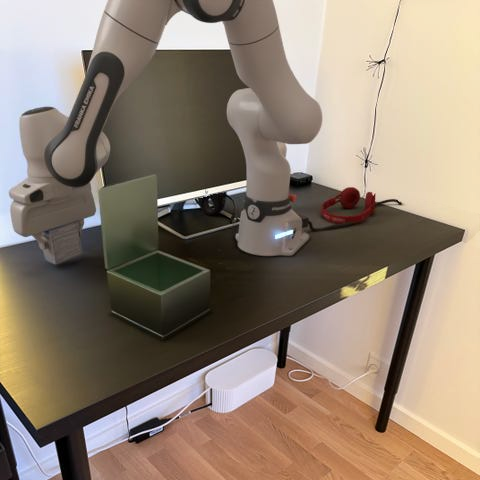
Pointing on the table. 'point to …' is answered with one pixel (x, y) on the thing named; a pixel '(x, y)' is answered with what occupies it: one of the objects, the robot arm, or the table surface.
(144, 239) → the lid
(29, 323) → the table surface
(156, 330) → the green hollow box
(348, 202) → the headphones
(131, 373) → the table surface
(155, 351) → the table surface
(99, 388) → the table surface
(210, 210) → the controller
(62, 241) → the medicine box
